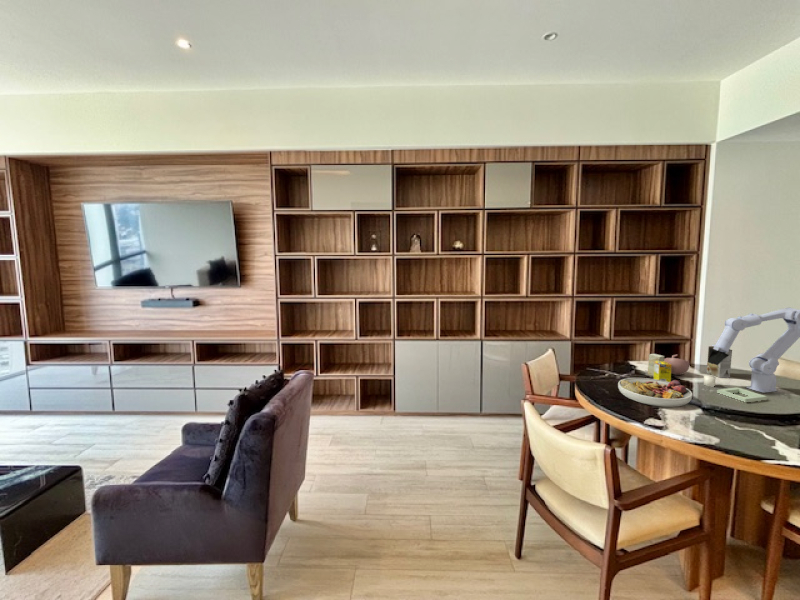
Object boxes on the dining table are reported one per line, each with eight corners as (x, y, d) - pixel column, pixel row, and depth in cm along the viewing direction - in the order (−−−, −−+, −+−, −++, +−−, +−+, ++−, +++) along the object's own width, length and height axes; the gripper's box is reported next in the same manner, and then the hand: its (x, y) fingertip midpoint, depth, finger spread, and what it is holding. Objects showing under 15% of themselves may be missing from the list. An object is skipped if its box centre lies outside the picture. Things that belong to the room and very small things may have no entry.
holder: (737, 391, 185) (737, 387, 185) (766, 400, 173) (766, 396, 173) (716, 393, 183) (717, 389, 183) (744, 403, 171) (745, 399, 171)
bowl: (651, 412, 164) (652, 395, 164) (604, 389, 194) (604, 374, 193) (708, 406, 169) (710, 390, 168) (654, 384, 199) (655, 370, 198)
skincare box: (647, 374, 214) (648, 354, 213) (652, 373, 216) (653, 353, 214) (658, 377, 208) (659, 356, 207) (663, 376, 210) (664, 355, 209)
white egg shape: (708, 384, 197) (708, 374, 196) (717, 386, 192) (717, 377, 192) (701, 384, 196) (701, 375, 195) (710, 387, 191) (710, 378, 191)
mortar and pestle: (688, 373, 215) (690, 354, 213) (688, 378, 205) (690, 358, 204) (663, 369, 222) (664, 351, 221) (662, 375, 213) (663, 355, 211)
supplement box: (670, 384, 198) (671, 364, 196) (658, 383, 199) (659, 364, 198) (665, 380, 204) (666, 361, 202) (653, 380, 205) (654, 361, 203)
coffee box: (705, 372, 214) (707, 346, 212) (716, 372, 214) (718, 345, 212) (719, 378, 205) (721, 350, 203) (730, 377, 205) (732, 349, 203)
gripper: (721, 338, 195) (708, 361, 197) (712, 335, 186) (699, 358, 189) (737, 344, 189) (723, 367, 192) (729, 341, 181) (715, 365, 183)
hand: (712, 363), depth 190 cm, fingers open, 7 cm apart
